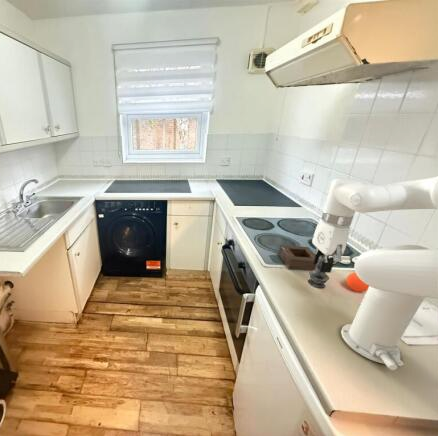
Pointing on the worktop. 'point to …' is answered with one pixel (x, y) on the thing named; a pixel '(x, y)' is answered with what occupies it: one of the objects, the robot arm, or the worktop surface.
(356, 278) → the clementine
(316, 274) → the grey tiered tall piece
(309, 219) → the worktop surface
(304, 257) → the socket
